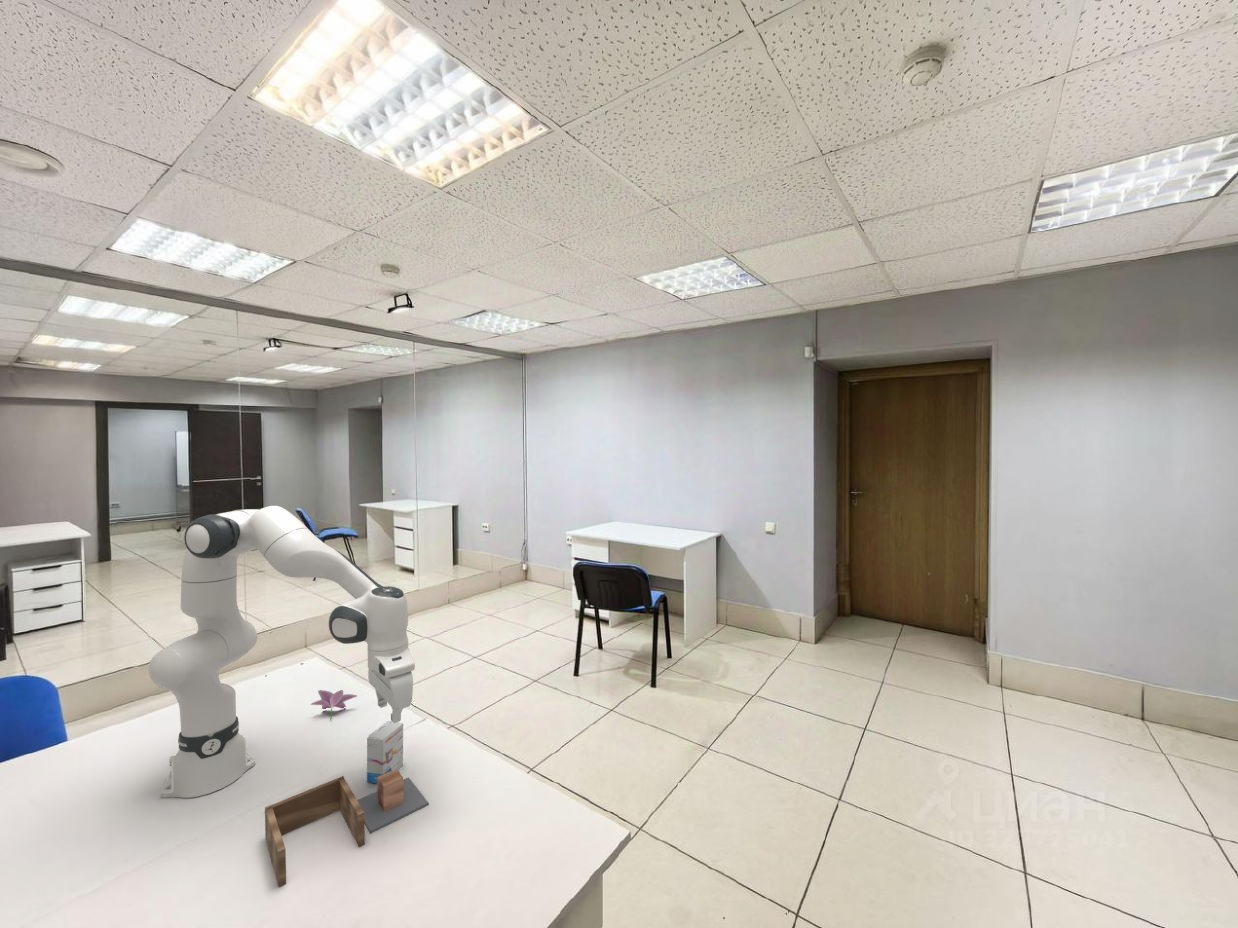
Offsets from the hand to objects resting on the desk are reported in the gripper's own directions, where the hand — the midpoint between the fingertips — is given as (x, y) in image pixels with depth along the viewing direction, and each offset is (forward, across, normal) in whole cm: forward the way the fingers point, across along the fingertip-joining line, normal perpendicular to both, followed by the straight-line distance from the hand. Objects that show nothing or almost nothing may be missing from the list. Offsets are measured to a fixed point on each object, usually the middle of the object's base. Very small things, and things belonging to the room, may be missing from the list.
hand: (389, 713), depth 118 cm
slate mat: (+22, 0, 0) cm, 22 cm away
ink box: (+22, -13, +3) cm, 26 cm away
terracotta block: (+22, 0, 0) cm, 22 cm away
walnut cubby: (+22, +1, -16) cm, 27 cm away
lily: (+23, -56, +1) cm, 60 cm away
